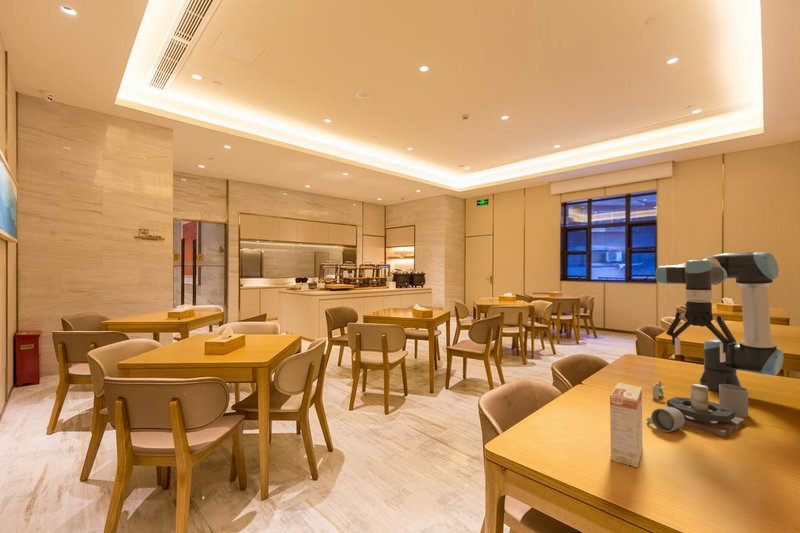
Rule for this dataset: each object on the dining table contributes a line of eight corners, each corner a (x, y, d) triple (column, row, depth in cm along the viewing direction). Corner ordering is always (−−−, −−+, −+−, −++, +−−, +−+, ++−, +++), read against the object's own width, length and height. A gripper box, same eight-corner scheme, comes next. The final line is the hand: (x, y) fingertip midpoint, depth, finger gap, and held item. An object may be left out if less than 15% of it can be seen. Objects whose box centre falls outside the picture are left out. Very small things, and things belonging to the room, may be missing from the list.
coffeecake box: (617, 441, 118) (617, 382, 118) (643, 448, 114) (643, 386, 114) (609, 460, 107) (608, 394, 107) (637, 468, 102) (637, 399, 102)
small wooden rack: (668, 398, 159) (668, 380, 160) (663, 401, 155) (663, 383, 155) (658, 395, 163) (658, 378, 163) (652, 399, 158) (652, 380, 159)
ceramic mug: (686, 430, 126) (686, 408, 127) (675, 435, 122) (674, 412, 123) (653, 420, 136) (653, 399, 136) (641, 424, 132) (641, 403, 132)
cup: (753, 418, 137) (753, 391, 137) (728, 416, 139) (728, 390, 139) (737, 409, 145) (737, 384, 146) (714, 408, 147) (714, 383, 147)
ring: (681, 399, 147) (681, 394, 147) (740, 414, 132) (740, 408, 132) (660, 408, 137) (660, 403, 137) (721, 425, 122) (721, 419, 122)
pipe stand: (679, 406, 148) (679, 375, 148) (744, 424, 131) (744, 388, 131) (656, 417, 138) (656, 383, 138) (724, 438, 121) (724, 399, 121)
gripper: (656, 299, 144) (656, 352, 143) (739, 304, 122) (740, 366, 122) (664, 298, 147) (665, 350, 147) (746, 303, 126) (747, 363, 126)
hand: (699, 357), depth 135 cm, fingers open, 13 cm apart
